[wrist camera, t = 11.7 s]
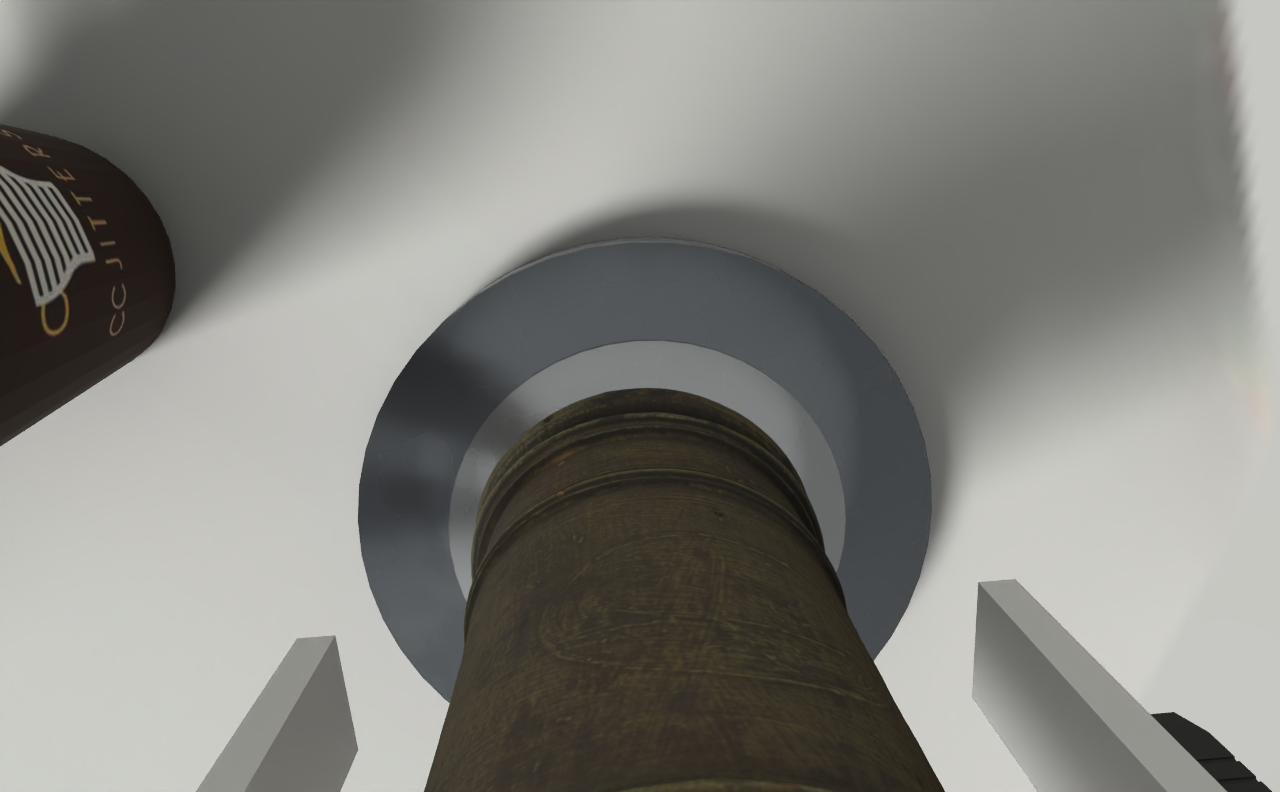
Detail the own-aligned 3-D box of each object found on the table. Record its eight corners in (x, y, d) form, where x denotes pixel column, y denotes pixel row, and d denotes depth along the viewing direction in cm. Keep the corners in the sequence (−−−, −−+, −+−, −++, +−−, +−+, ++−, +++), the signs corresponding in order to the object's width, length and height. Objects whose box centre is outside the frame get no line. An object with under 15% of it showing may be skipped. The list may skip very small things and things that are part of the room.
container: (431, 443, 21) (-385, 1713, 4) (755, 334, 21) (1540, 1208, 3) (550, 714, 23) (389, 2239, 6) (841, 622, 23) (1555, 1996, 6)
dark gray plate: (416, 756, 26) (403, 796, 24) (329, 259, 21) (305, 267, 20) (905, 714, 26) (925, 751, 24) (919, 216, 22) (944, 220, 20)
